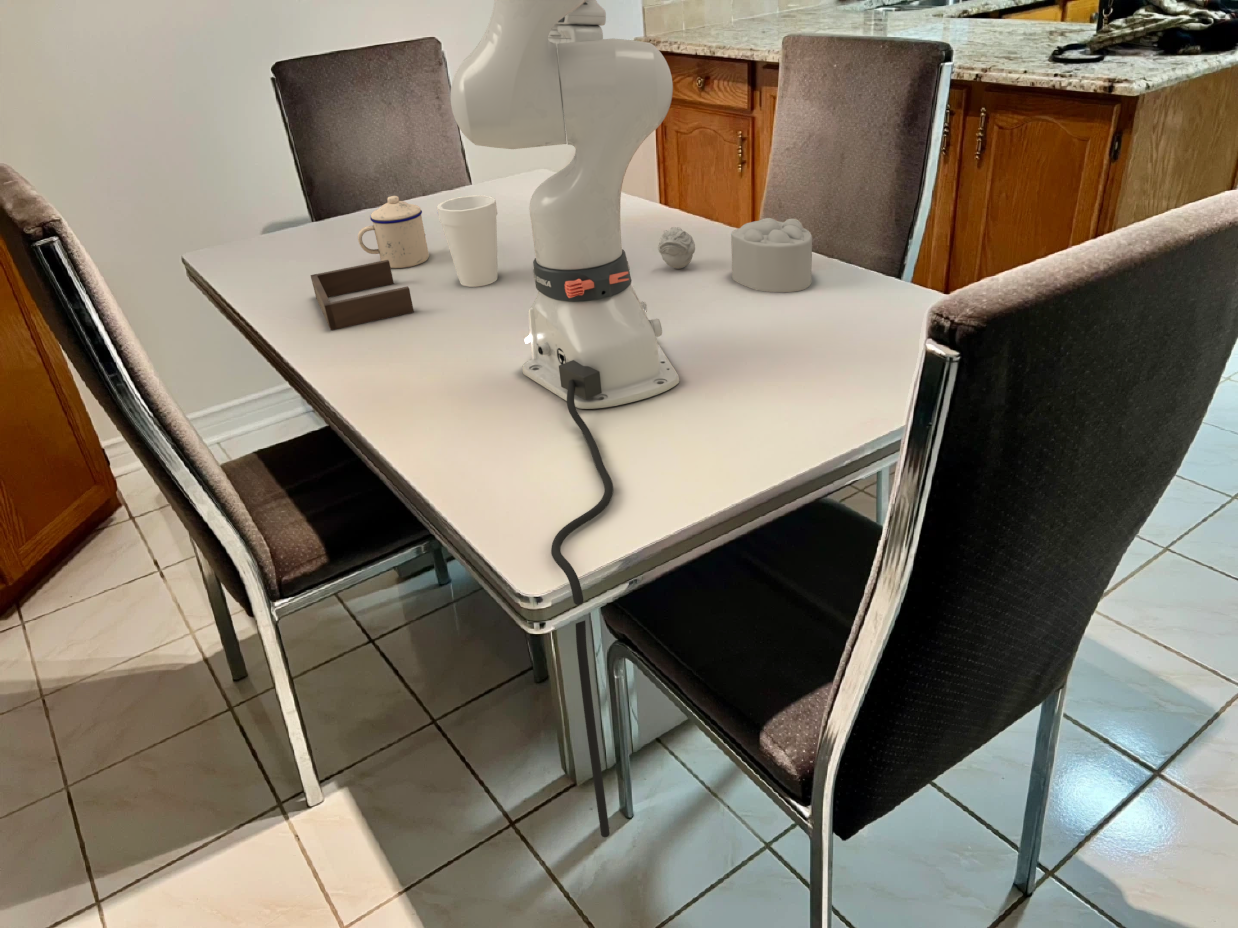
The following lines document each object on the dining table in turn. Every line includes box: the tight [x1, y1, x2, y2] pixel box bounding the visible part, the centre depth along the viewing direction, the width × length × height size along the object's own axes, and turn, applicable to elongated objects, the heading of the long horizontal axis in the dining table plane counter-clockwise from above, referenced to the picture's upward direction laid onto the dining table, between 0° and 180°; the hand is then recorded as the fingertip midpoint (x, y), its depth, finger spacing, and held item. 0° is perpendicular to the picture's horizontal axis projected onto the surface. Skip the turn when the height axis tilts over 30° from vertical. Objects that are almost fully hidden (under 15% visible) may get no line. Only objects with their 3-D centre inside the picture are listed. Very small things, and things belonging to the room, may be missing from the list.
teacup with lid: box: [357, 195, 430, 269], centre depth 168 cm, size 12×9×12 cm
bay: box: [310, 260, 415, 331], centre depth 151 cm, size 17×13×4 cm
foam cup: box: [436, 194, 499, 288], centre depth 155 cm, size 10×9×13 cm
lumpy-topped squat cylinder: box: [730, 217, 813, 293], centre depth 145 cm, size 10×13×9 cm
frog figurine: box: [657, 226, 696, 269], centre depth 153 cm, size 6×7×7 cm
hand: (566, 107), depth 151 cm, fingers closed
